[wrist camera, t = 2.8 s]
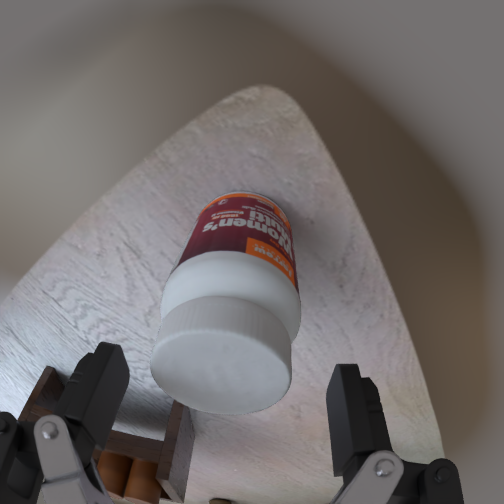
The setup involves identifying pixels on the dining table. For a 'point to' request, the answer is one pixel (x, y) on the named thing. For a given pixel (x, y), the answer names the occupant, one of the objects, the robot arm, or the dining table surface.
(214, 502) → the kendama
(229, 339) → the pill bottle
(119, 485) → the spice rack
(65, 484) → the robot arm
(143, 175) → the dining table surface
